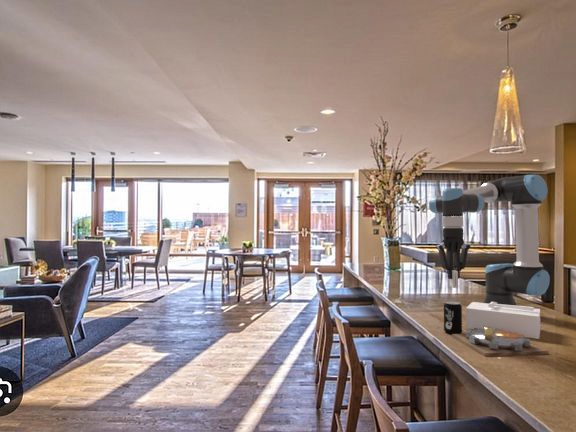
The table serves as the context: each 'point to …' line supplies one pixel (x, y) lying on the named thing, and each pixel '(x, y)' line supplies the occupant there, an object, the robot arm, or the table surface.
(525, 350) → the board
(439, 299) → the table surface
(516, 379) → the table surface
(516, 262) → the robot arm
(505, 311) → the tissue box
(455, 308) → the beverage can
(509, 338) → the sprocket
